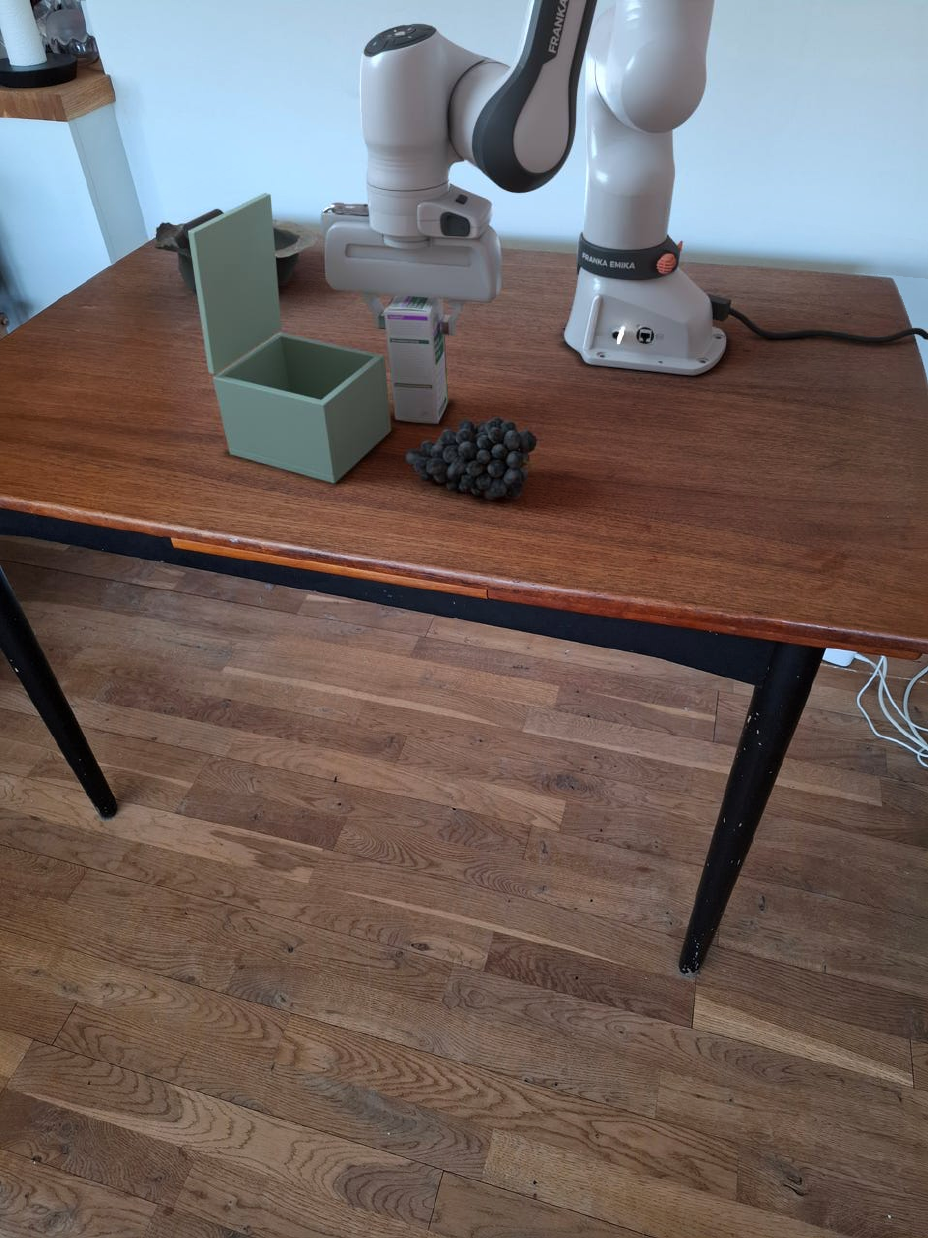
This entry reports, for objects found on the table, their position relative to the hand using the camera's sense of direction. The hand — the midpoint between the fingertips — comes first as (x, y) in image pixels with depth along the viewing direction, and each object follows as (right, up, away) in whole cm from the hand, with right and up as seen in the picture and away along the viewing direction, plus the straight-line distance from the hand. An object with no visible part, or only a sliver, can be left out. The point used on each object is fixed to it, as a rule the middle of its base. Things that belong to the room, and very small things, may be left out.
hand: (415, 330), depth 105 cm
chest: (-13, -13, +2) cm, 18 cm away
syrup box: (0, -8, +7) cm, 11 cm away
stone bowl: (-30, +21, +40) cm, 55 cm away
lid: (-19, +2, -8) cm, 20 cm away
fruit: (+6, -19, -5) cm, 21 cm away
